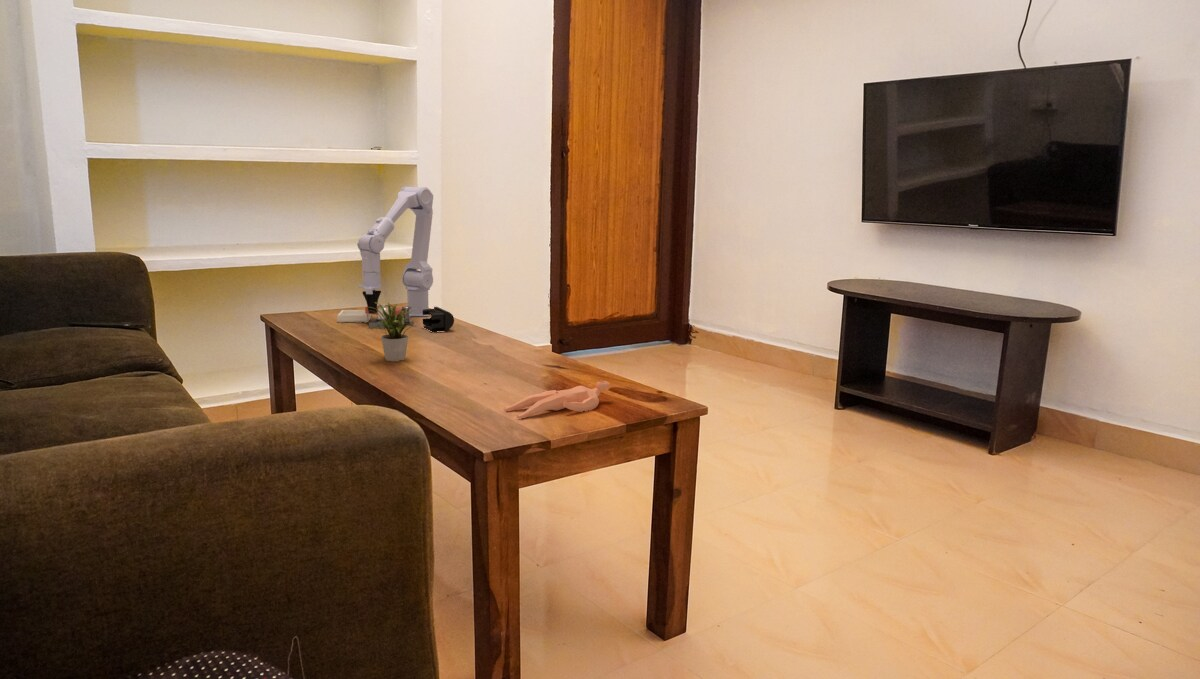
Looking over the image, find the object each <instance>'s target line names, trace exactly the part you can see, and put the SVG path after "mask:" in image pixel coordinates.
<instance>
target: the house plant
mask: <svg viewBox="0 0 1200 679" xmlns="http://www.w3.org/2000/svg"><path fill="white" fill-rule="evenodd" d="M375 303H376V302H375ZM377 306H379V307H381V309H382V311H383V314H384V316H385V317H386V318H385V317H384V316H383V314H382V313H381V312H380V311H379V310H377V309H376V310H377V311H378V312H380V314H381V315H382V316H383V317H384V319H385V320H386V319H387V320H386V321H387V322H386V321H381V322H380V323H382V324H383V325H384V326H383V325H382V326H383V327H385V328H384V329H386V331H387V333H388V334H387V333H386V334H383V335H381V338H380V339H381V343H382V349H383V354H384V359H386V360H385V361H387V362H400V361H399V360H402V361H404V359H405V360H406V355H407V349H408V348H407V347H408V341H409V335H408V334H405V333H406V332H407V331H408V330H409V329H410V328H413V327H415V325H409V324H411V323H412V322H408V323H405V324H404V325H402V322H404V320H405V319H406V318H405V319H404V318H403V317H404V315H405V314H406V312H407V309H408V307H409V306H408V307H407V309H406V310H405V312H404V311H401V312H400V313H399V314H398V315H397V316H396V315H395V309H397V308H396V307H397V306H398V303H396V304H395V305H394V307H393V306H391V304H390V302H389V301H387V307H388V312H389V315H388V314H387V313H386V312H385V310H384V308H383V307H382V304H380V303H377ZM370 308H372V307H370ZM417 308H419V307H417ZM374 309H375V308H374ZM415 309H416V308H415ZM415 309H414V310H415ZM412 311H413V310H412ZM412 311H411V312H412ZM403 312H404V314H403ZM411 312H410V313H411ZM375 313H376V312H375ZM410 313H409V314H410ZM409 314H408V315H409ZM376 315H377V316H378V315H379V314H378V313H377V314H376ZM402 315H403V316H402ZM408 315H407V316H408ZM379 316H380V315H379ZM380 318H381V317H380ZM381 319H382V318H381ZM382 320H383V319H382ZM406 320H407V319H406ZM375 325H376V324H375ZM379 326H381V325H377V326H374V328H372V330H374V329H381V330H382V328H380V327H379ZM408 326H409V327H408ZM377 327H379V328H377ZM407 327H408V328H407ZM405 328H407V329H406V330H405ZM403 330H405V331H404V332H403ZM402 332H403V334H402Z"/></svg>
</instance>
